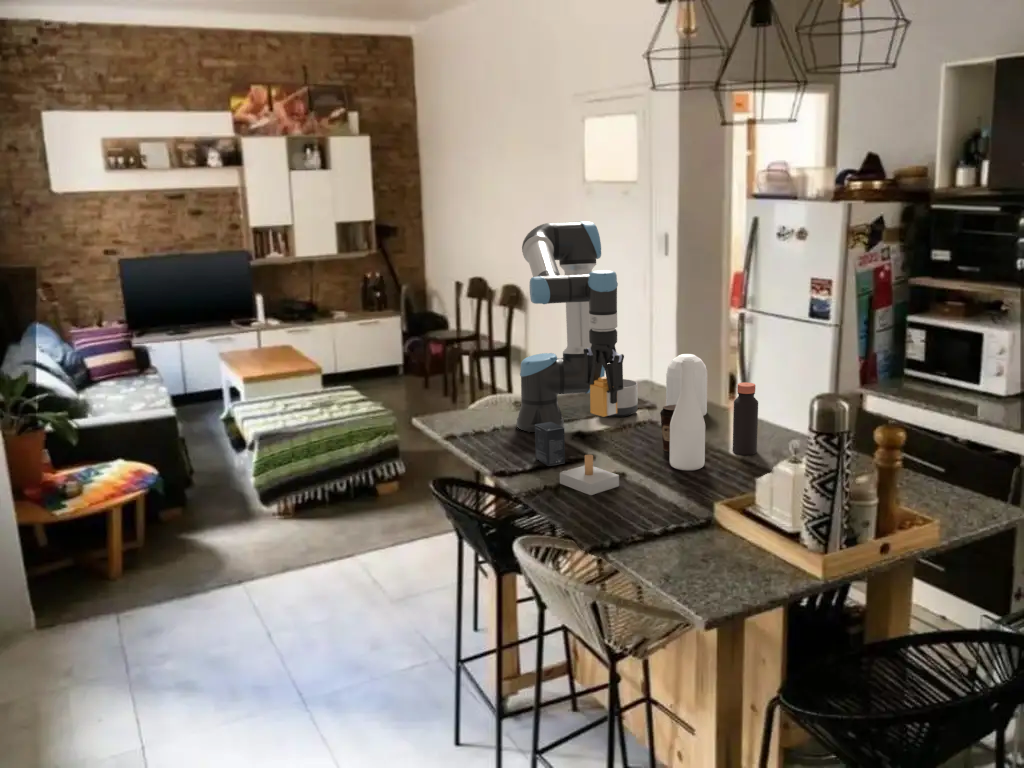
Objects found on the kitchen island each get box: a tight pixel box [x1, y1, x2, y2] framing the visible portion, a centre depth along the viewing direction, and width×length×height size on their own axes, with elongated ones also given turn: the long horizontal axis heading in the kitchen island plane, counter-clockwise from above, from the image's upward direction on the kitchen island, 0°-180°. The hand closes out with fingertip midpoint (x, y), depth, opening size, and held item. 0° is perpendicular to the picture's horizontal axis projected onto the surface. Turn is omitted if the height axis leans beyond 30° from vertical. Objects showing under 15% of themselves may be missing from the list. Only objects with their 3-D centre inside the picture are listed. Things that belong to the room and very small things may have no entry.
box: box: [534, 422, 566, 467], centre depth 256 cm, size 8×6×11 cm
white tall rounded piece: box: [669, 359, 706, 471], centre depth 246 cm, size 10×10×30 cm
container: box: [665, 353, 708, 417], centre depth 300 cm, size 13×13×20 cm
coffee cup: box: [659, 405, 676, 453], centre depth 262 cm, size 9×8×13 cm
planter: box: [609, 378, 639, 418], centre depth 303 cm, size 13×13×10 cm
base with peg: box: [559, 454, 620, 496], centre depth 238 cm, size 15×10×8 cm, turn 37°
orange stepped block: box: [589, 376, 617, 418], centre depth 247 cm, size 5×5×10 cm
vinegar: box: [732, 381, 759, 456], centre depth 257 cm, size 7×7×20 cm
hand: (603, 412), depth 248 cm, fingers closed on orange stepped block, 5 cm apart
